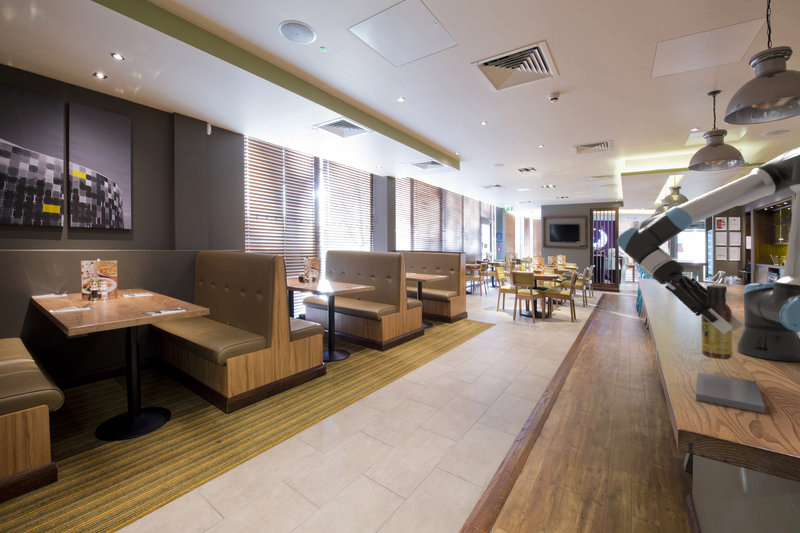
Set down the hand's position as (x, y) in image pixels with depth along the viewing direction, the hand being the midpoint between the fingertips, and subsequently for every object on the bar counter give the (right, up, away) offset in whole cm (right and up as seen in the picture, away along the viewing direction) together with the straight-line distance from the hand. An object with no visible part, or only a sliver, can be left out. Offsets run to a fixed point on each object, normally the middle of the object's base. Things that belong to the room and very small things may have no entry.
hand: (733, 329), depth 92 cm
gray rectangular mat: (-10, -14, -9) cm, 19 cm away
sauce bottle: (-1, -9, +3) cm, 9 cm away
